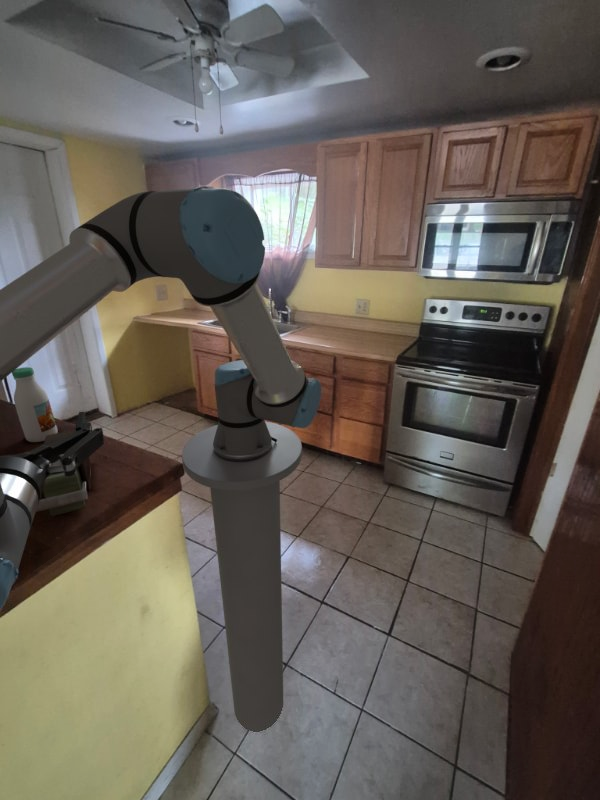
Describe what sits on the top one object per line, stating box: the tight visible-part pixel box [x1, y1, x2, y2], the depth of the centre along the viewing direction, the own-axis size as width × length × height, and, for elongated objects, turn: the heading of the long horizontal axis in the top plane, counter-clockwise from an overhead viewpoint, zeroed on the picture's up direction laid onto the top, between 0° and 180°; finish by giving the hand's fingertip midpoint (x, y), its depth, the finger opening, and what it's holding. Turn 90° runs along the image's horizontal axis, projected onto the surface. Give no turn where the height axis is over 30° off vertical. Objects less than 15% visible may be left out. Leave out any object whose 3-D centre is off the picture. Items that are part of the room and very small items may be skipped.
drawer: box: [35, 465, 89, 517], centre depth 75 cm, size 16×9×9 cm, turn 27°
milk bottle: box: [11, 366, 59, 443], centre depth 101 cm, size 8×8×20 cm
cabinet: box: [40, 429, 92, 492], centre depth 84 cm, size 11×7×10 cm, turn 27°
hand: (35, 424), depth 60 cm, fingers open, 13 cm apart
